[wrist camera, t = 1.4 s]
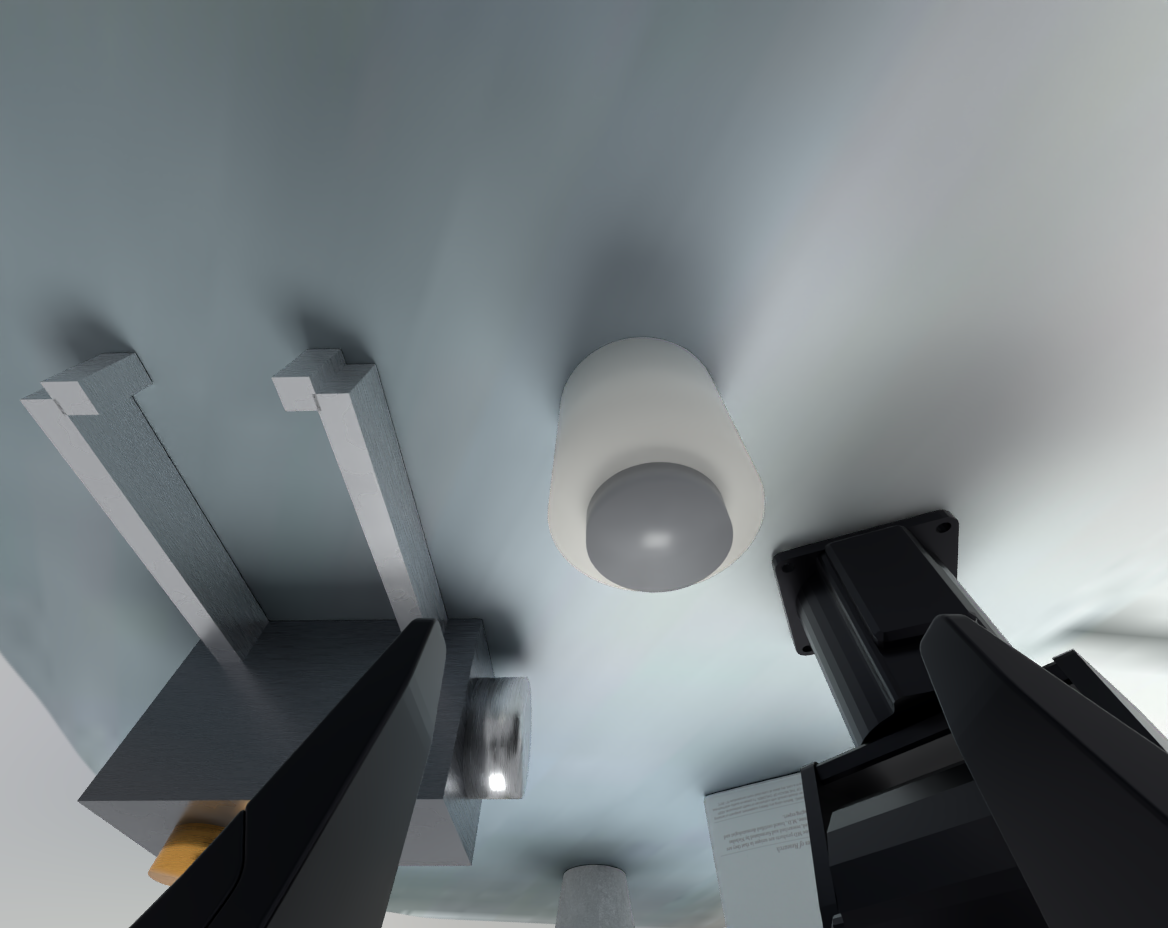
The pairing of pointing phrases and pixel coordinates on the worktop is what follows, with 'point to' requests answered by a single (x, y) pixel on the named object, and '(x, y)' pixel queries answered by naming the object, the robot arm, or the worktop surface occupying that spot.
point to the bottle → (650, 471)
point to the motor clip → (275, 627)
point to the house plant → (594, 898)
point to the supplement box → (764, 855)
